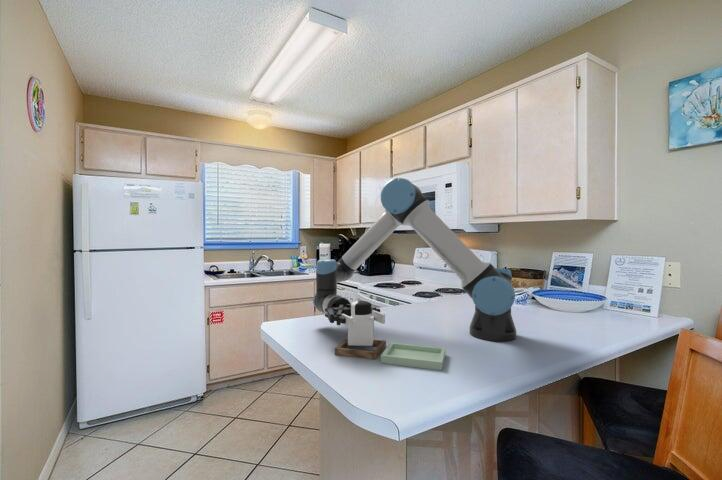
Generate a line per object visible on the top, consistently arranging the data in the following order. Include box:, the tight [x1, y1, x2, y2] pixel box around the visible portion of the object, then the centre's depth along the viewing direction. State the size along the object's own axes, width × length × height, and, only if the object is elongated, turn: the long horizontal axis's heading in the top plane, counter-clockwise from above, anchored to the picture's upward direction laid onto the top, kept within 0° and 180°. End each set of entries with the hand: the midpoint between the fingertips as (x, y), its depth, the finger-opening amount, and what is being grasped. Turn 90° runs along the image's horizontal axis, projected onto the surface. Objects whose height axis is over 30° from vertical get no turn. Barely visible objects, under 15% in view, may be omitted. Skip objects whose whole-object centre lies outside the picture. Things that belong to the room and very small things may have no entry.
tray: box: [380, 341, 447, 371], centre depth 96 cm, size 16×12×2 cm
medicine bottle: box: [347, 300, 375, 347], centre depth 103 cm, size 7×7×12 cm
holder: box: [334, 337, 387, 360], centre depth 103 cm, size 12×12×2 cm
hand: (368, 321), depth 99 cm, fingers closed on medicine bottle, 10 cm apart
